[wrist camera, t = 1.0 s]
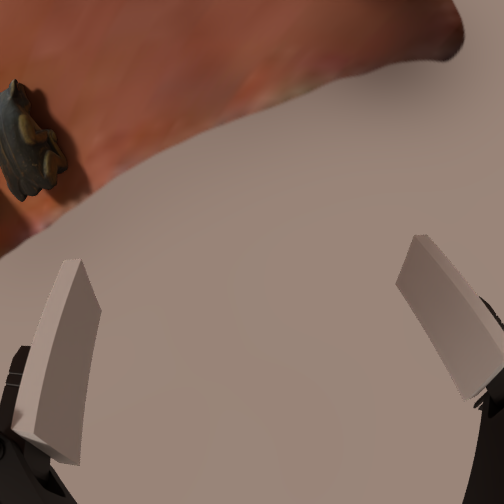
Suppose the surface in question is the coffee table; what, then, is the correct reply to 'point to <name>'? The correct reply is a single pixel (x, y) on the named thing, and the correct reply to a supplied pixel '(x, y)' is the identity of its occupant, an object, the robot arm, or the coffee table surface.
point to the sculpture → (26, 147)
